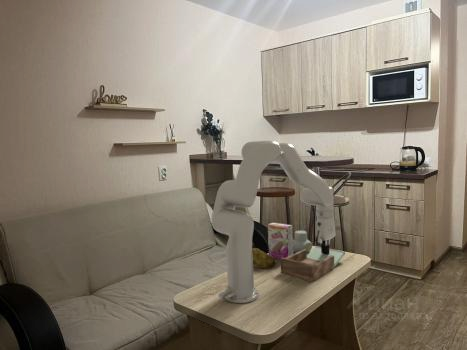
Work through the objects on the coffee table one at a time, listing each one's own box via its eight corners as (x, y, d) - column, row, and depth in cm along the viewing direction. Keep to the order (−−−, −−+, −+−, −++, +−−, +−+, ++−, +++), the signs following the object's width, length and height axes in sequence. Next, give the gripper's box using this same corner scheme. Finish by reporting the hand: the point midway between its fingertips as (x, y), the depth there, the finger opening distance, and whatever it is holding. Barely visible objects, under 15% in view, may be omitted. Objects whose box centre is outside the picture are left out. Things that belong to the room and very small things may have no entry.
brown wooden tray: (311, 281, 135) (311, 265, 135) (280, 272, 146) (280, 257, 145) (334, 268, 148) (334, 253, 147) (304, 260, 159) (304, 247, 158)
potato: (267, 272, 147) (266, 254, 146) (243, 266, 155) (242, 249, 154) (277, 266, 153) (277, 249, 152) (254, 261, 161) (253, 244, 161)
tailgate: (334, 264, 148) (344, 251, 155) (305, 257, 159) (316, 245, 165) (334, 266, 149) (345, 253, 155) (305, 259, 159) (316, 247, 165)
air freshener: (301, 256, 165) (301, 235, 164) (287, 252, 171) (287, 233, 170) (314, 250, 172) (314, 230, 171) (300, 247, 178) (300, 228, 177)
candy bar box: (268, 257, 165) (266, 224, 163) (274, 254, 169) (272, 222, 167) (288, 262, 158) (287, 227, 156) (294, 259, 162) (292, 224, 160)
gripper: (323, 217, 147) (324, 259, 149) (340, 212, 158) (340, 251, 160) (308, 215, 153) (309, 255, 154) (326, 210, 163) (326, 247, 165)
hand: (325, 253), depth 157 cm, fingers closed
